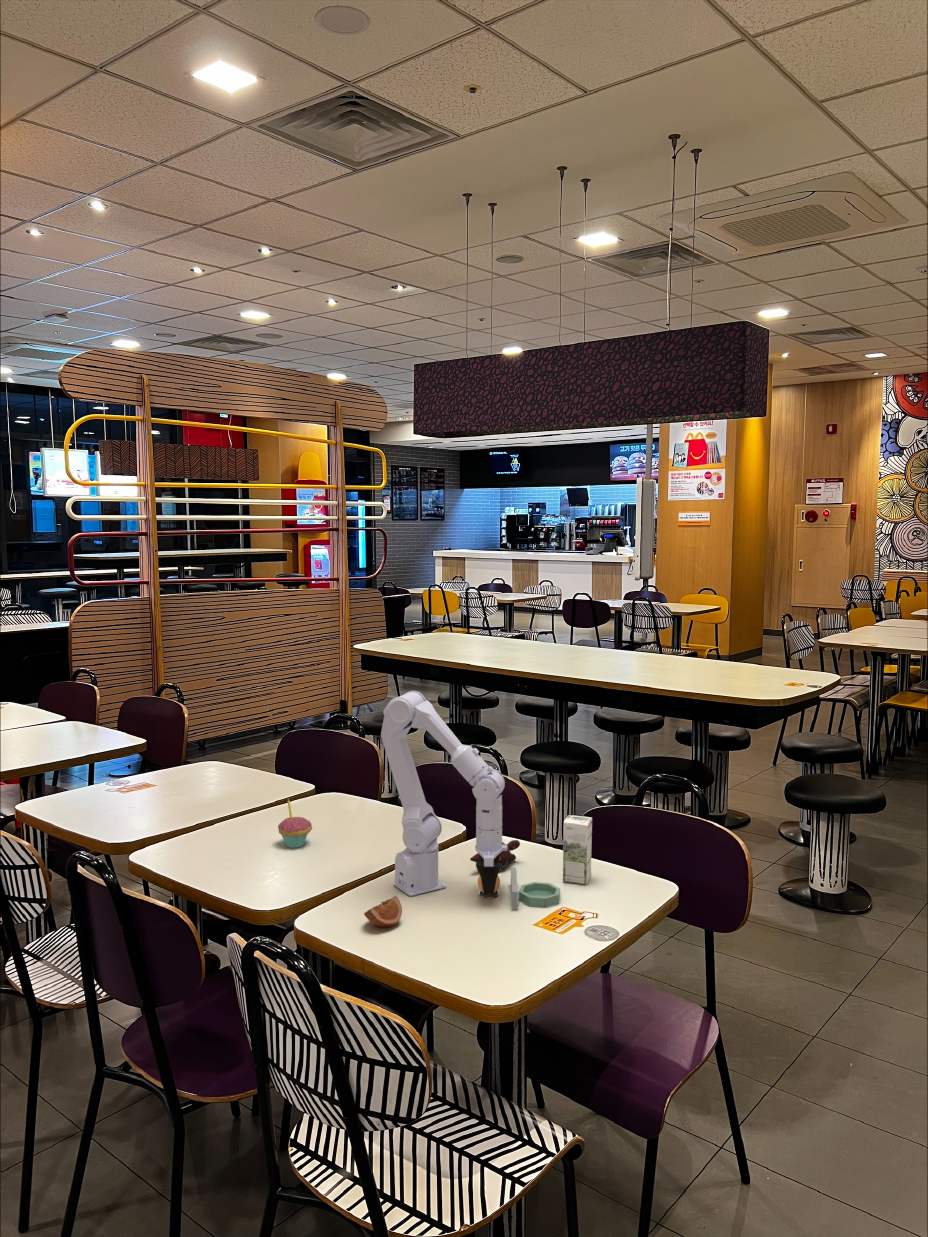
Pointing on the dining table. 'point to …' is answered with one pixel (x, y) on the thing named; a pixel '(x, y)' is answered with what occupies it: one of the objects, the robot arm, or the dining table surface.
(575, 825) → the syrup box
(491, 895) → the ring
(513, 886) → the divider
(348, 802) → the dining table surface
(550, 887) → the dish
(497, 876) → the ball
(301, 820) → the cupcake
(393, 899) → the fruit slice
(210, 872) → the dining table surface
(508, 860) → the icecream
